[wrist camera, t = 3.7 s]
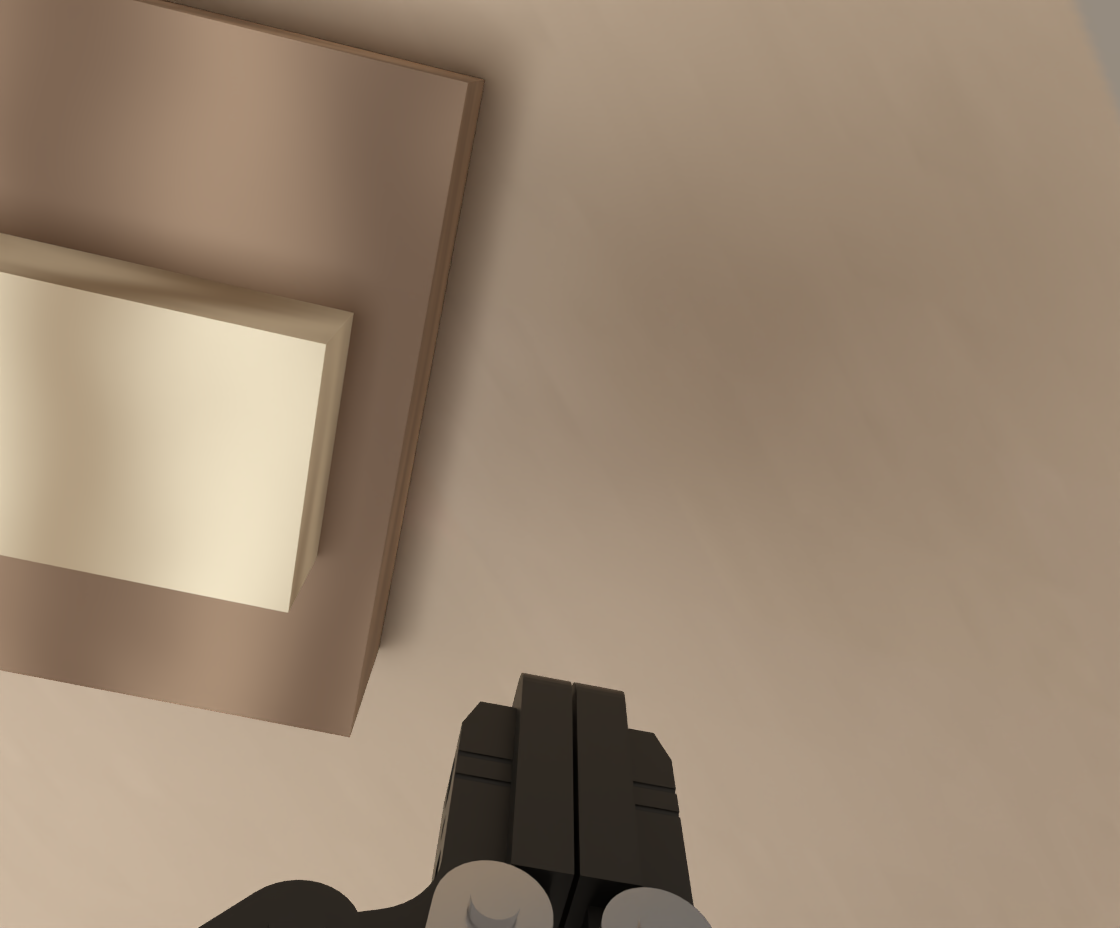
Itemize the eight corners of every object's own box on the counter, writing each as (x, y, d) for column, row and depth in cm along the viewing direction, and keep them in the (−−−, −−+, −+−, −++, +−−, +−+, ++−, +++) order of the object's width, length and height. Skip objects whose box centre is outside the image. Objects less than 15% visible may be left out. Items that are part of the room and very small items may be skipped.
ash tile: (353, 313, 20) (326, 344, 18) (317, 556, 23) (288, 612, 20) (-32, 225, 20) (-111, 247, 17) (-31, 485, 22) (-101, 534, 20)
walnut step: (485, 80, 22) (467, 82, 19) (378, 649, 28) (349, 737, 25) (-137, -74, 21) (-285, -104, 18) (-110, 552, 27) (-217, 628, 24)
